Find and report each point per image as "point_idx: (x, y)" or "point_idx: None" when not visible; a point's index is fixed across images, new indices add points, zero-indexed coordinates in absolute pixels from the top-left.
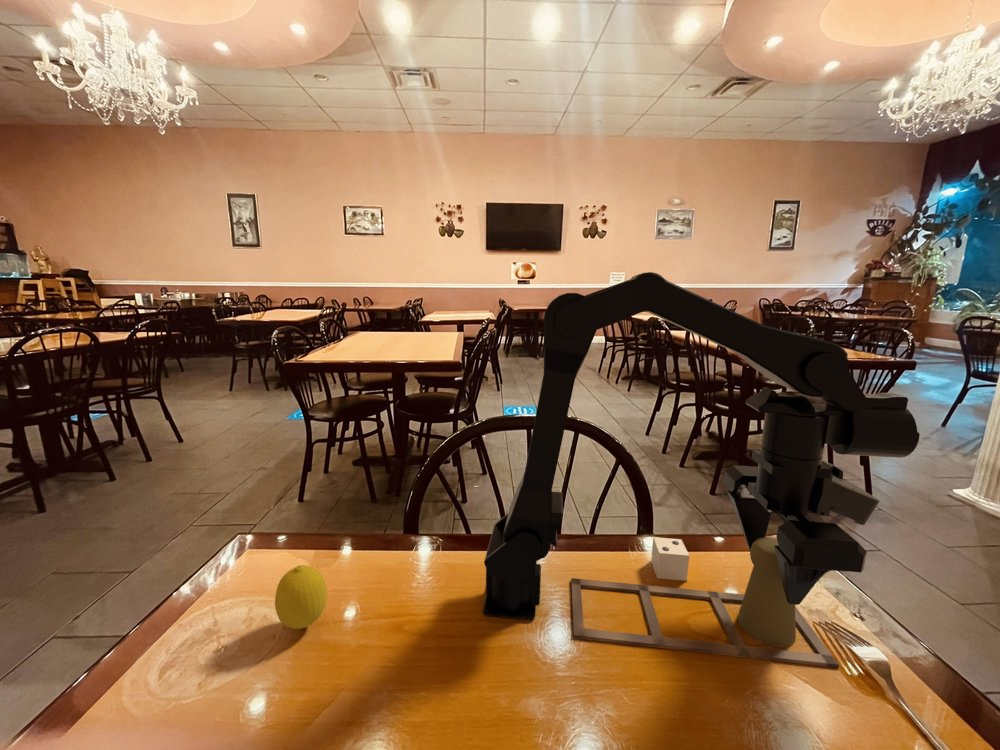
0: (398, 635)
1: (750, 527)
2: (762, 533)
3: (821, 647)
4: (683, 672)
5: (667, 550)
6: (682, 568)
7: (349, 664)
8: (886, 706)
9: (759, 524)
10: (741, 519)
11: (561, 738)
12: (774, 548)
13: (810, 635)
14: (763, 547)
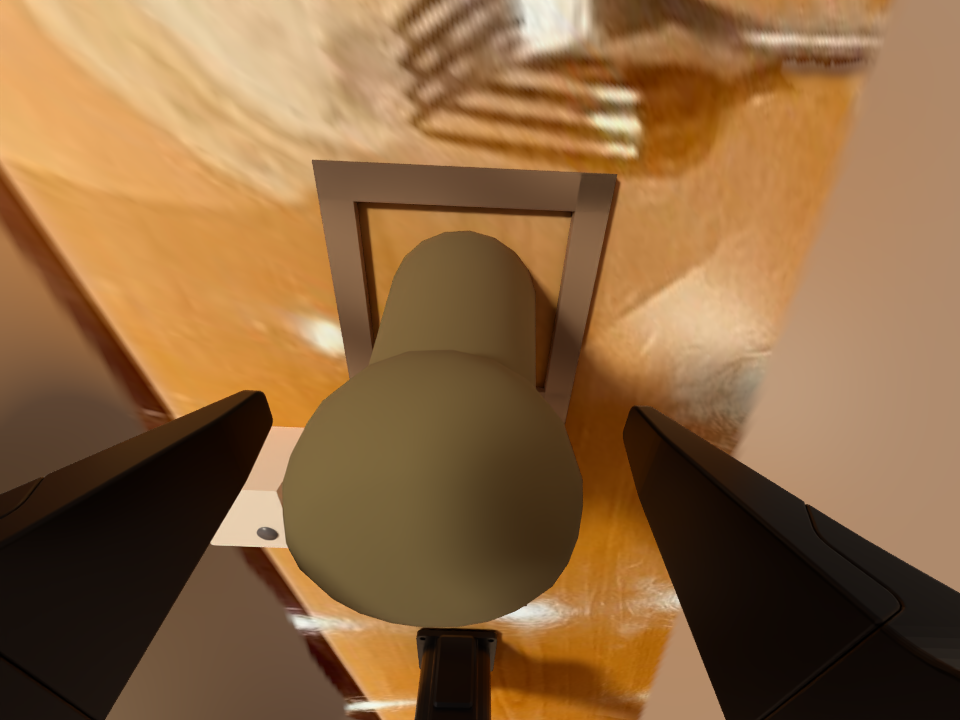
0: (529, 702)
1: (161, 567)
2: (159, 475)
3: (549, 189)
4: (596, 499)
5: (274, 532)
6: None
7: (566, 716)
8: (753, 114)
9: (103, 561)
10: (135, 663)
11: (674, 614)
12: (480, 609)
13: (498, 194)
14: (458, 625)
